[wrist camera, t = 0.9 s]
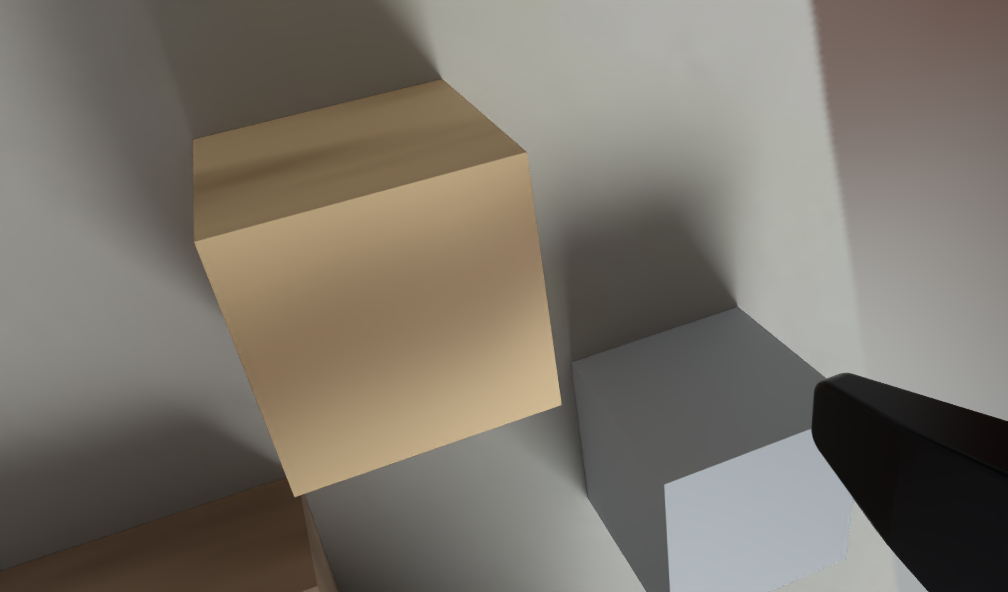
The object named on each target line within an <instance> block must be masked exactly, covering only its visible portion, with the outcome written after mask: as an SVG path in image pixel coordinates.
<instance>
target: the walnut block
mask: <svg viewBox="0 0 1008 592" xmlns="http://www.w3.org/2000/svg"><path fill="white" fill-rule="evenodd" d="M0 592H339V590H338V588H337V585H336V582H335V579H334V576H333V574H332V571H331V568H330V565H329V562H328V560H327V557H326V554H325V551H324V548H323V546H322V543H321V540H320V537H319V535H318V532H317V529H316V526H315V523H314V521H313V518H312V515H311V512H310V509H309V507H308V504H307V501H306V498H305V495H304V494H303V495H300V496H297V497H294V495H293V492H292V490H291V487H290V484H289V482H288V479H287V477H286V478H283V479H280V480H277V481H274V482H271V483H268V484H265V485H262V486H259V487H256V488H253V489H250V490H247V491H244V492H240V493H237V494H234V495H231V496H228V497H225V498H222V499H219V500H216V501H213V502H210V503H207V504H204V505H201V506H198V507H194V508H191V509H188V510H185V511H182V512H179V513H176V514H173V515H170V516H167V517H164V518H161V519H158V520H155V521H151V522H148V523H145V524H142V525H139V526H136V527H133V528H130V529H127V530H124V531H121V532H118V533H115V534H112V535H109V536H105V537H102V538H99V539H96V540H93V541H90V542H87V543H84V544H81V545H78V546H75V547H72V548H69V549H66V550H63V551H59V552H56V553H53V554H50V555H47V556H44V557H41V558H38V559H35V560H32V561H29V562H26V563H23V564H20V565H17V566H13V567H10V568H7V569H4V570H1V571H0Z"/></svg>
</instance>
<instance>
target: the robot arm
mask: <svg viewBox="0 0 1008 592" xmlns="http://www.w3.org/2000/svg"><path fill="white" fill-rule="evenodd" d="M811 433H812V438H813V441H814V443H815V445H816V447H817V449H818V450H819V452H820V453H821V454H822V456H823V457H824V459H825V460H826V461H827V463H828V464H829V466H830V467H831V468H832V470H833V471H834V472H835V474H836V475H837V477H838V478H839V479H840V481H841V482H842V484H843V485H844V486H845V488H846V489H847V491H848V492H849V493H850V495H851V496H852V497H853V499H854V500H855V502H856V503H857V504H858V506H859V507H860V509H861V510H862V511H863V513H864V514H865V516H866V517H867V518H868V520H869V521H870V522H871V524H872V525H873V527H874V528H875V529H876V531H877V532H878V533H879V535H880V536H881V537H882V538H883V540H884V541H885V542H886V544H887V545H888V546H889V547H890V548H891V550H892V551H893V552H894V553H895V554H896V555H897V557H898V558H899V559H900V560H901V561H902V562H903V564H904V565H905V566H906V567H907V568H908V569H909V570H910V572H911V573H912V574H913V575H914V576H915V577H916V578H917V579H918V581H919V582H920V583H921V584H922V585H923V586H924V587H925V588H926V590H927V591H928V592H1008V421H1005V420H1002V419H999V418H996V417H992V416H989V415H986V414H982V413H979V412H976V411H973V410H969V409H966V408H963V407H959V406H956V405H953V404H950V403H946V402H943V401H939V400H936V399H933V398H930V397H926V396H923V395H920V394H917V393H913V392H910V391H907V390H903V389H900V388H897V387H894V386H891V385H887V384H884V383H881V382H877V381H874V380H871V379H868V378H864V377H861V376H858V375H855V374H851V373H841V374H838V375H835V376H833V377H830V378H827V379H824V380H822V381H820V382H818V383H817V385H816V386H815V388H814V395H813V409H812V423H811Z"/></svg>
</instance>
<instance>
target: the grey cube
mask: <svg viewBox="0 0 1008 592" xmlns="http://www.w3.org/2000/svg"><path fill="white" fill-rule="evenodd" d="M571 365H572V373H573V381H574V389H575V397H576V405H577V413H578V421H579V429H580V437H581V445H582V453H583V461H584V469H585V477H586V485H587V493H588V499H589V501H590V502H591V504H592V505H593V507H594V509H595V510H596V512H597V513H598V515H599V517H600V518H601V520H602V521H603V523H604V525H605V526H606V528H607V529H608V531H609V533H610V534H611V536H612V537H613V539H614V541H615V542H616V544H617V545H618V547H619V549H620V550H621V552H622V553H623V555H624V557H625V558H626V560H627V561H628V563H629V565H630V566H631V568H632V569H633V571H634V573H635V574H636V576H637V577H638V579H639V581H640V582H641V584H642V585H643V587H644V589H645V590H646V592H770V591H773V590H775V589H777V588H780V587H782V586H784V585H787V584H789V583H791V582H794V581H796V580H798V579H801V578H803V577H805V576H808V575H810V574H813V573H815V572H817V571H820V570H822V569H824V568H827V567H829V566H831V565H834V564H836V563H838V562H841V561H843V560H845V559H846V555H847V547H848V538H849V529H850V521H851V512H852V504H853V497H852V496H851V495H850V493H849V492H848V491H847V489H846V488H845V486H844V485H843V484H842V482H841V481H840V479H839V478H838V477H837V475H836V474H835V472H834V471H833V470H832V468H831V467H830V466H829V464H828V463H827V461H826V460H825V459H824V457H823V456H822V454H821V453H820V452H819V450H818V449H817V447H816V445H815V443H814V441H813V438H812V433H811V423H812V409H813V395H814V388H815V386H816V385H817V383H818V382H820V381H822V380H824V379H826V378H825V377H824V376H823V375H821V374H820V373H819V372H818V371H816V370H815V369H814V368H813V367H811V366H810V365H809V364H808V363H807V362H805V361H804V360H803V359H802V358H800V357H799V356H798V355H797V354H795V353H794V352H793V351H792V350H790V349H789V348H788V347H787V346H786V345H784V344H783V343H782V342H781V341H779V340H778V339H777V338H776V337H774V336H773V335H772V334H771V333H770V332H768V331H767V330H766V329H765V328H763V327H762V326H761V325H760V324H758V323H757V322H756V321H755V320H754V319H752V318H751V317H750V316H749V315H747V314H746V313H745V312H744V311H742V310H741V309H740V308H739V307H736V308H733V309H730V310H727V311H724V312H721V313H718V314H715V315H712V316H709V317H706V318H703V319H700V320H697V321H694V322H691V323H688V324H685V325H682V326H679V327H676V328H673V329H670V330H667V331H664V332H661V333H658V334H655V335H652V336H649V337H646V338H643V339H640V340H637V341H634V342H631V343H628V344H625V345H622V346H619V347H616V348H613V349H610V350H607V351H604V352H601V353H598V354H595V355H592V356H589V357H586V358H583V359H580V360H577V361H574V362H571Z"/></svg>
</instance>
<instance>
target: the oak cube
mask: <svg viewBox="0 0 1008 592" xmlns="http://www.w3.org/2000/svg"><path fill="white" fill-rule="evenodd" d="M193 189H194V243H195V246H196V248H197V251H198V253H199V256H200V259H201V261H202V264H203V266H204V269H205V271H206V274H207V276H208V279H209V281H210V284H211V286H212V289H213V292H214V294H215V297H216V299H217V302H218V304H219V307H220V309H221V312H222V314H223V317H224V319H225V322H226V325H227V327H228V330H229V332H230V335H231V337H232V340H233V342H234V345H235V347H236V350H237V352H238V355H239V358H240V360H241V363H242V365H243V368H244V370H245V373H246V375H247V378H248V380H249V383H250V385H251V388H252V391H253V393H254V396H255V398H256V401H257V403H258V406H259V408H260V411H261V413H262V416H263V418H264V421H265V424H266V426H267V429H268V431H269V434H270V436H271V439H272V441H273V444H274V446H275V449H276V451H277V454H278V457H279V459H280V462H281V464H282V467H283V469H284V472H285V474H286V477H287V479H288V482H289V484H290V487H291V490H292V492H293V495H294V497H297V496H300V495H303V494H306V493H308V492H311V491H314V490H317V489H320V488H323V487H326V486H329V485H332V484H334V483H337V482H340V481H343V480H346V479H349V478H352V477H355V476H358V475H360V474H363V473H366V472H369V471H372V470H375V469H378V468H381V467H384V466H387V465H389V464H392V463H395V462H398V461H401V460H404V459H407V458H410V457H413V456H415V455H418V454H421V453H424V452H427V451H430V450H433V449H436V448H439V447H441V446H444V445H447V444H450V443H453V442H456V441H459V440H462V439H465V438H468V437H470V436H473V435H476V434H479V433H482V432H485V431H488V430H491V429H494V428H496V427H499V426H502V425H505V424H508V423H511V422H514V421H517V420H520V419H522V418H525V417H528V416H531V415H534V414H537V413H540V412H543V411H546V410H549V409H551V408H554V407H557V406H560V405H562V404H561V397H560V390H559V382H558V375H557V368H556V361H555V353H554V346H553V339H552V331H551V324H550V317H549V310H548V302H547V295H546V288H545V281H544V273H543V266H542V259H541V251H540V244H539V237H538V230H537V222H536V215H535V208H534V201H533V193H532V186H531V179H530V171H529V164H528V157H527V152H526V151H525V150H524V149H523V148H522V147H520V146H519V145H518V144H517V143H516V142H515V141H513V140H512V139H511V138H510V137H509V136H508V135H506V134H505V133H504V132H503V131H502V130H501V129H500V128H498V127H497V126H496V125H495V124H494V123H493V122H491V121H490V120H489V119H488V118H487V117H486V116H485V115H483V114H482V113H481V112H480V111H479V110H478V109H476V108H475V107H474V106H473V105H472V104H471V103H469V102H468V101H467V100H466V99H465V98H464V97H463V96H461V95H460V94H459V93H458V92H457V91H456V90H454V89H453V88H452V87H451V86H450V85H449V84H447V83H446V82H445V81H444V80H443V79H440V80H436V81H431V82H427V83H423V84H419V85H415V86H411V87H407V88H403V89H399V90H394V91H390V92H386V93H382V94H378V95H374V96H370V97H366V98H362V99H357V100H353V101H349V102H345V103H341V104H337V105H333V106H329V107H325V108H320V109H316V110H312V111H308V112H304V113H300V114H296V115H292V116H288V117H283V118H279V119H275V120H271V121H267V122H263V123H259V124H255V125H251V126H246V127H242V128H238V129H234V130H230V131H226V132H222V133H218V134H214V135H209V136H205V137H201V138H197V139H193Z"/></svg>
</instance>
